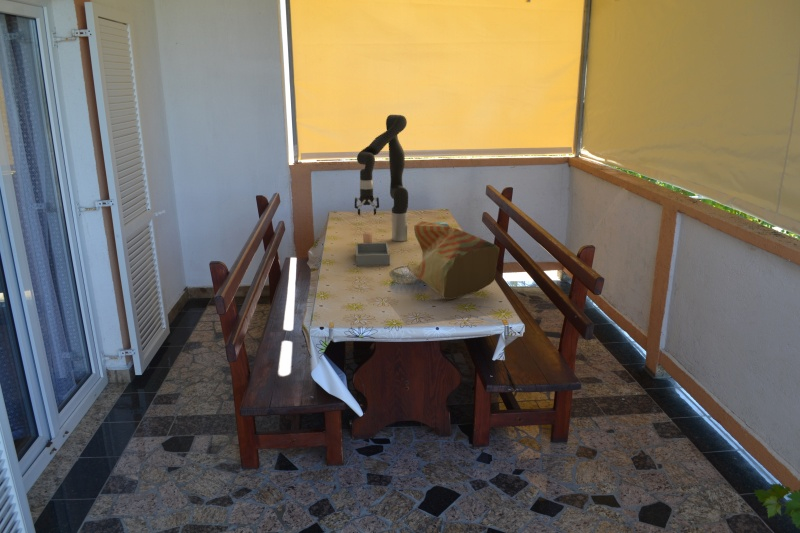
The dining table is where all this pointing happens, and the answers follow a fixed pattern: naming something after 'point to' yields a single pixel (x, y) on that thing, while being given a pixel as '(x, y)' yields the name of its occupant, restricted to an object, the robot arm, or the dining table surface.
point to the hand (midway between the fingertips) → (367, 215)
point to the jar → (367, 237)
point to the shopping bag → (454, 260)
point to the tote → (372, 254)
